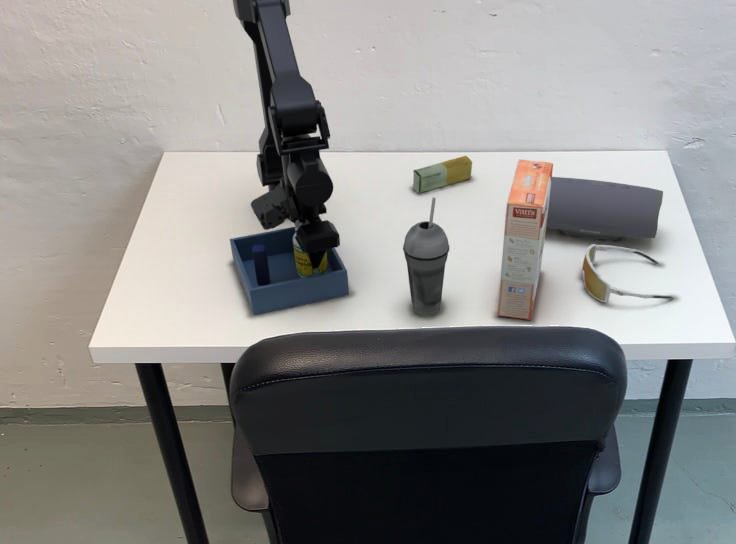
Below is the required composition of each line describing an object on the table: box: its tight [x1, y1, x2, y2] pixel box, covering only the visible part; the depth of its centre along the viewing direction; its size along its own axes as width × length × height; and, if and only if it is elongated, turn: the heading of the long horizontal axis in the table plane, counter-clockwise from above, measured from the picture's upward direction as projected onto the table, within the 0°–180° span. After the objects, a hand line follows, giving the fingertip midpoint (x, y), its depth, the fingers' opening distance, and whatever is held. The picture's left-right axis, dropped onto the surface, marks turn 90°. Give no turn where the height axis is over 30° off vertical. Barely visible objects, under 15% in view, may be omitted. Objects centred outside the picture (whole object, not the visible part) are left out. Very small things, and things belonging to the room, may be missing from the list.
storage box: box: [229, 226, 350, 316], centre depth 151 cm, size 16×16×5 cm
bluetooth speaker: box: [546, 176, 664, 241], centre depth 159 cm, size 23×9×10 cm, turn 77°
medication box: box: [412, 155, 473, 194], centre depth 174 cm, size 12×3×4 cm, turn 119°
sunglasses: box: [581, 243, 675, 303], centre depth 150 cm, size 14×15×5 cm
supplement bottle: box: [293, 220, 328, 278], centre depth 150 cm, size 5×5×10 cm
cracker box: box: [497, 159, 554, 321], centre depth 142 cm, size 14×6×21 cm, turn 168°
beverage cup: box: [402, 197, 450, 317], centre depth 139 cm, size 7×7×20 cm
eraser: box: [252, 245, 270, 286], centre depth 149 cm, size 2×2×7 cm
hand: (311, 258), depth 151 cm, fingers closed on supplement bottle, 5 cm apart
